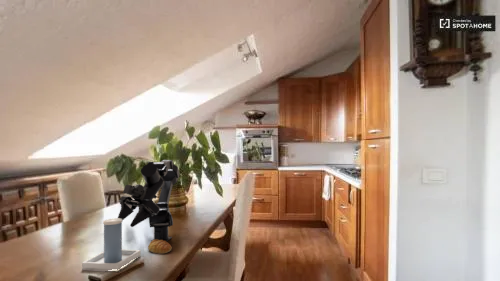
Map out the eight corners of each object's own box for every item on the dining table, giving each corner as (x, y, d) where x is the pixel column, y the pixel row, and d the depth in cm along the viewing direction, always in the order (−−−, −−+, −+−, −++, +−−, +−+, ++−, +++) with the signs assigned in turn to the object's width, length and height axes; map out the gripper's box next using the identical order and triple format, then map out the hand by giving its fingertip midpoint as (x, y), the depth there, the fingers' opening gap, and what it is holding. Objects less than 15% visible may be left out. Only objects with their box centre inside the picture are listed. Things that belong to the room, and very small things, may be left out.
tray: (108, 255, 107) (108, 248, 107) (140, 256, 104) (140, 250, 104) (82, 269, 94) (82, 262, 94) (117, 272, 91) (117, 264, 91)
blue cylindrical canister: (111, 256, 103) (110, 218, 103) (126, 257, 102) (126, 218, 102) (99, 263, 97) (99, 222, 97) (115, 264, 96) (115, 222, 96)
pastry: (176, 250, 111) (176, 240, 111) (162, 256, 105) (162, 245, 105) (159, 246, 116) (159, 236, 116) (145, 251, 110) (145, 241, 110)
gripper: (123, 175, 113) (94, 208, 104) (151, 177, 102) (122, 215, 93) (141, 192, 119) (116, 225, 110) (170, 196, 108) (144, 233, 99)
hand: (124, 224), depth 103 cm, fingers open, 9 cm apart
